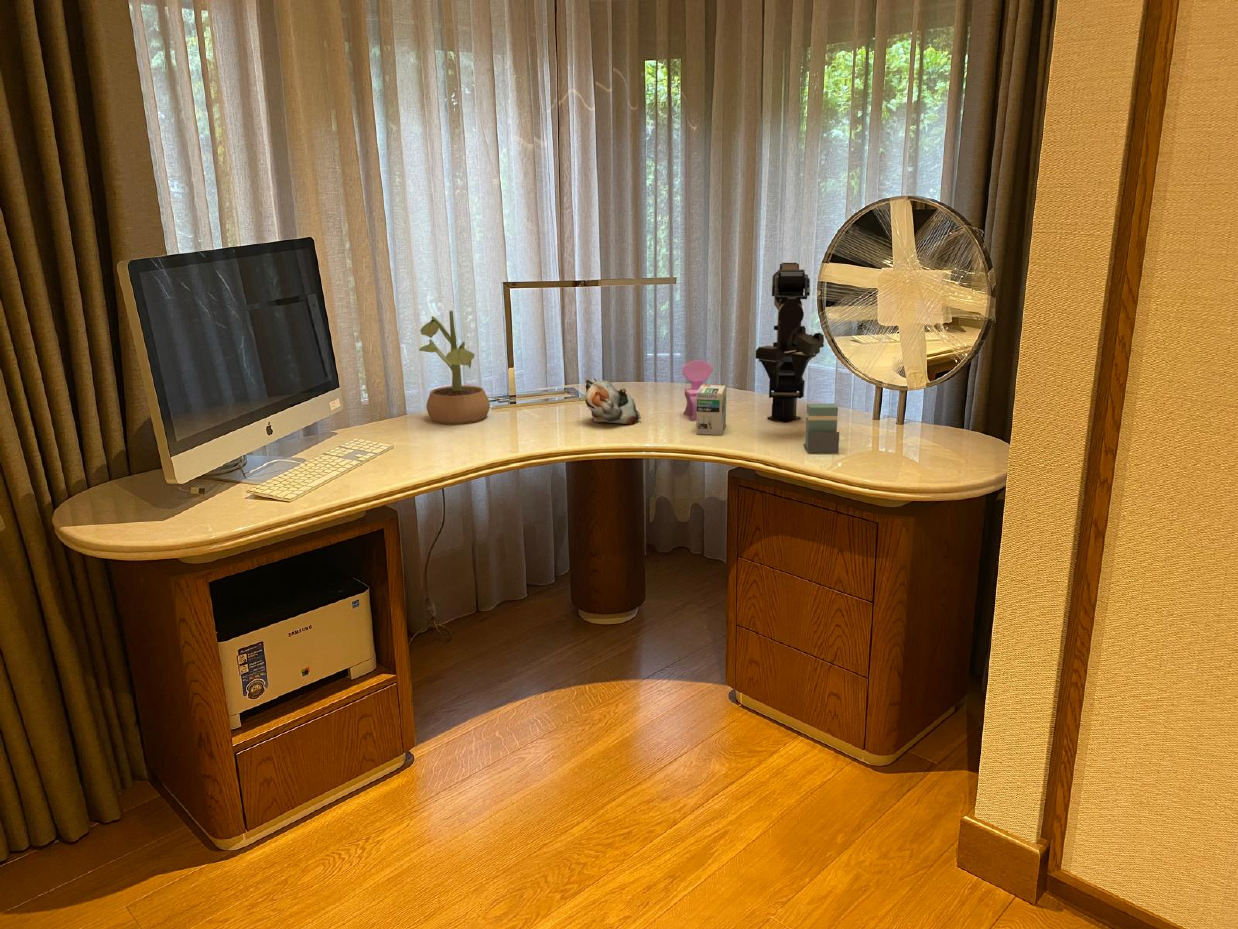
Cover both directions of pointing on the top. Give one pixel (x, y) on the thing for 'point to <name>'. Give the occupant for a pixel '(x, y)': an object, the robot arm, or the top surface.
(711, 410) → the light bulb box
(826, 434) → the bookend
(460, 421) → the potted plant
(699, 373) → the toy chair
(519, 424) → the top surface
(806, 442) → the green striped box
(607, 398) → the lucky cat figurine
